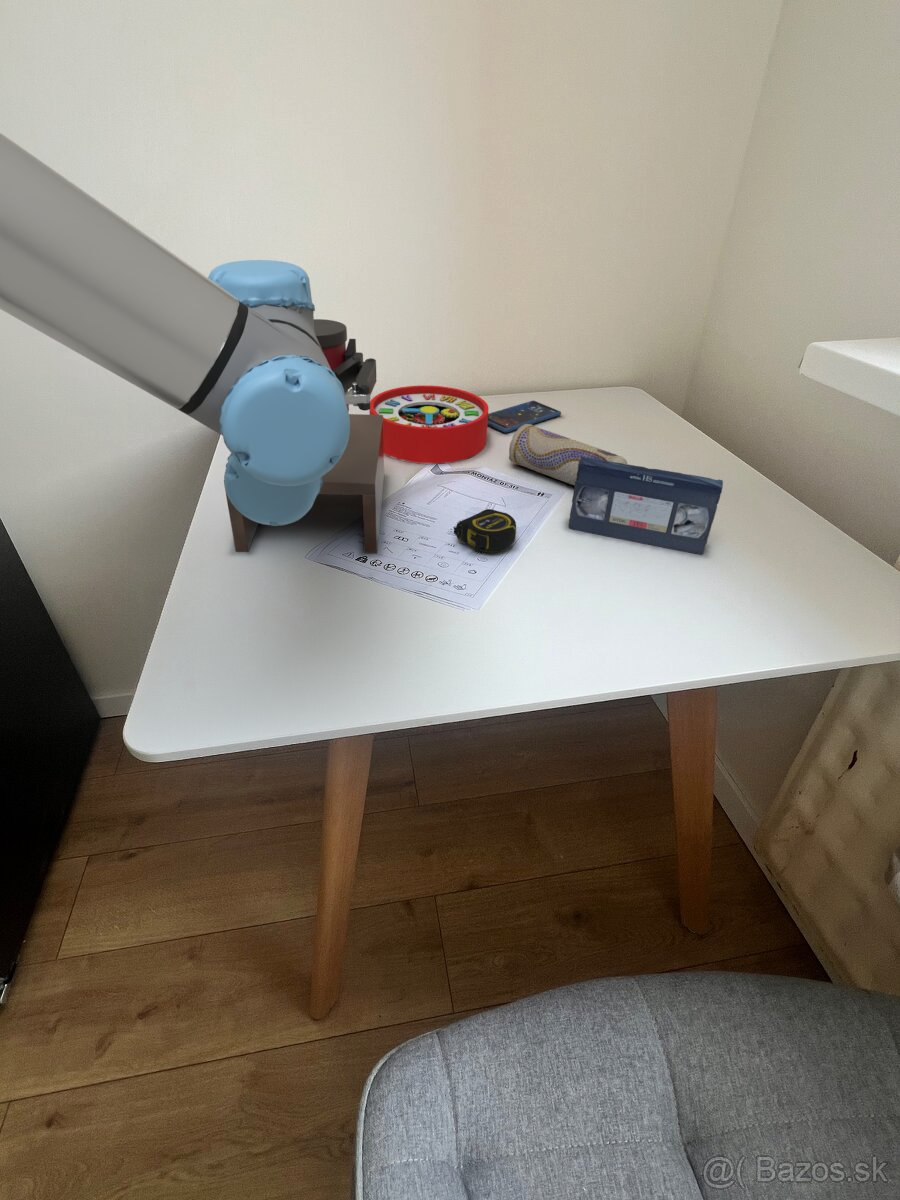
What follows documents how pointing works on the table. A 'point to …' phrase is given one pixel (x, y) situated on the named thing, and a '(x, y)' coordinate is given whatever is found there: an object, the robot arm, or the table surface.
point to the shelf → (342, 481)
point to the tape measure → (487, 531)
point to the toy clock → (431, 423)
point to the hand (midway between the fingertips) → (324, 349)
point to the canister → (332, 341)
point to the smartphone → (520, 416)
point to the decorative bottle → (553, 453)
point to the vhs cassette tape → (644, 504)
